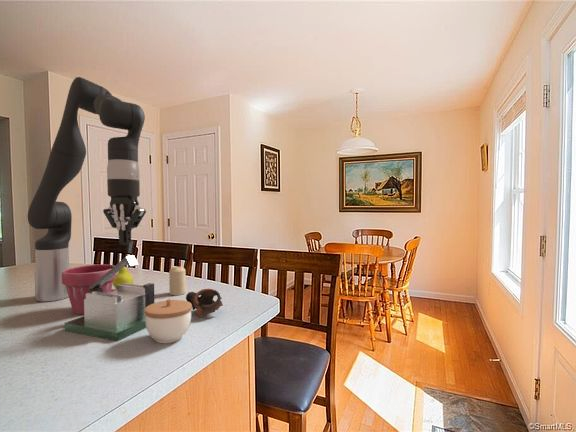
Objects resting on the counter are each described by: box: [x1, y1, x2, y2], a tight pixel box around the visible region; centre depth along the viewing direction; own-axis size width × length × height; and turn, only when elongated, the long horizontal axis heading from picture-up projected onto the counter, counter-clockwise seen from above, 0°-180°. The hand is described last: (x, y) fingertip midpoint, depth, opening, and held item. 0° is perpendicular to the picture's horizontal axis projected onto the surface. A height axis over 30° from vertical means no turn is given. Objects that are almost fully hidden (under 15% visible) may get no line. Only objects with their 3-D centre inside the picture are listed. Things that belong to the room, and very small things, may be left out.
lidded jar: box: [145, 298, 193, 344], centre depth 77 cm, size 11×11×9 cm
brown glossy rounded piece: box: [185, 288, 224, 319], centre depth 94 cm, size 12×10×8 cm
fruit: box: [112, 266, 134, 290], centre depth 119 cm, size 7×7×12 cm
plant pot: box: [62, 263, 117, 315], centre depth 97 cm, size 14×14×13 cm
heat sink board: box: [64, 282, 155, 342], centre depth 85 cm, size 18×16×11 cm
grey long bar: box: [89, 254, 139, 290], centre depth 86 cm, size 16×3×3 cm
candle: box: [168, 265, 187, 296], centre depth 115 cm, size 6×6×10 cm
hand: (125, 244), depth 84 cm, fingers closed
